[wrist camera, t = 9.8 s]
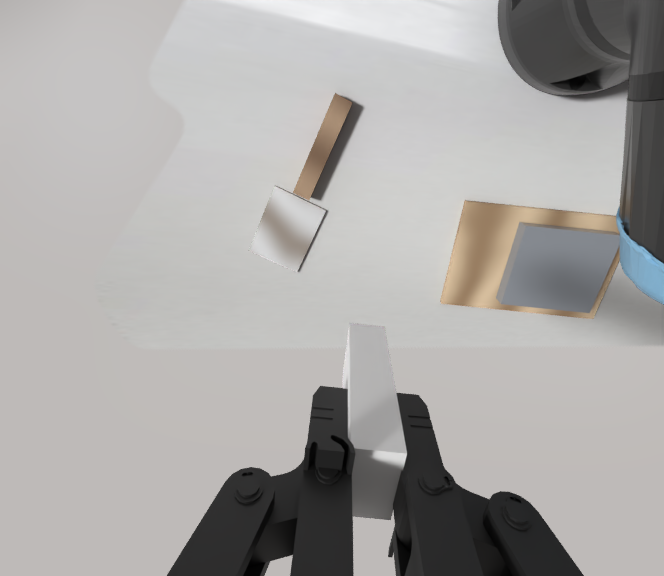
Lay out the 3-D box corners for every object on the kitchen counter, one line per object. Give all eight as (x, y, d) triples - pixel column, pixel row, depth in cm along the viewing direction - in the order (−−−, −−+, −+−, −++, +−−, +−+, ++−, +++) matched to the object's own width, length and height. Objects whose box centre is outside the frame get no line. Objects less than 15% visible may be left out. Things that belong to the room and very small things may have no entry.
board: (440, 301, 44) (441, 303, 44) (464, 200, 39) (466, 201, 39) (590, 316, 44) (593, 319, 44) (633, 217, 39) (637, 219, 39)
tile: (501, 304, 41) (589, 313, 41) (526, 225, 38) (623, 235, 38) (495, 297, 43) (580, 306, 43) (518, 221, 39) (612, 231, 39)
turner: (315, 83, 35) (314, 82, 34) (371, 113, 36) (372, 113, 35) (249, 249, 42) (245, 254, 41) (297, 271, 43) (295, 276, 42)
